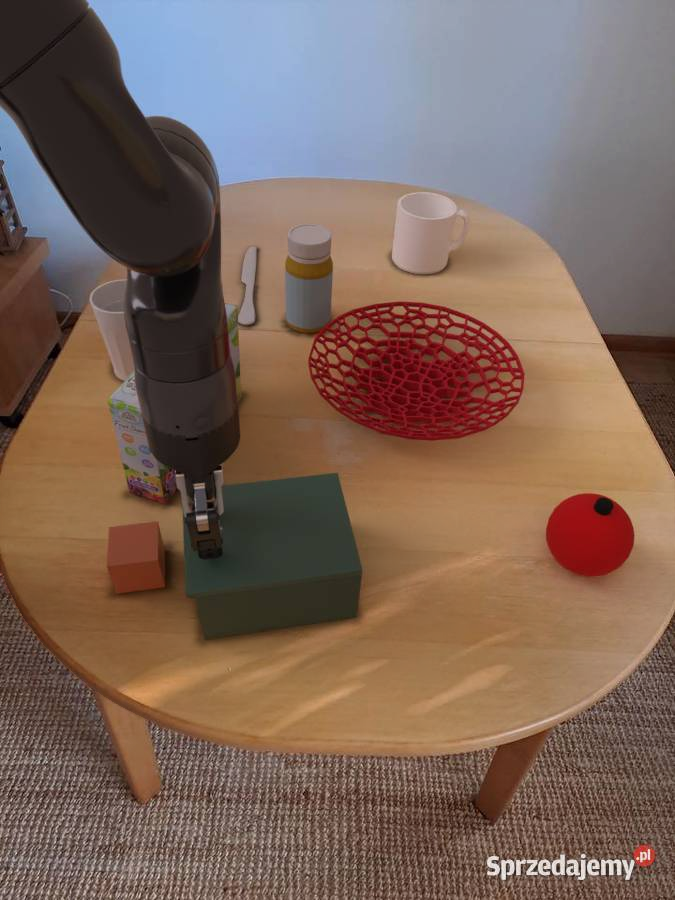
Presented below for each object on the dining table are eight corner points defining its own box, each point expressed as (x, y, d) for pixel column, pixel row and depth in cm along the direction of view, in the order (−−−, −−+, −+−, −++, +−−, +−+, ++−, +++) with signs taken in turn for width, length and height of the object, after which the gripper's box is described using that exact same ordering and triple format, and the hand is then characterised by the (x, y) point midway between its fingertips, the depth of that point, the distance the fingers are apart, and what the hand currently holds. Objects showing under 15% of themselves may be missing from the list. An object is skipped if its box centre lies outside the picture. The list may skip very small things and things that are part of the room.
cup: (172, 353, 98) (160, 281, 90) (156, 388, 93) (142, 315, 84) (118, 348, 99) (101, 276, 90) (100, 383, 93) (80, 310, 85)
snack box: (170, 507, 78) (150, 412, 68) (127, 494, 79) (101, 398, 69) (245, 396, 93) (238, 303, 82) (208, 386, 94) (197, 293, 83)
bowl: (347, 311, 108) (349, 284, 104) (530, 355, 102) (538, 328, 98) (274, 429, 88) (273, 400, 85) (495, 492, 82) (504, 464, 79)
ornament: (558, 514, 80) (584, 457, 73) (630, 555, 76) (664, 499, 69) (522, 561, 75) (546, 504, 68) (597, 608, 71) (630, 553, 64)
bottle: (278, 328, 104) (276, 239, 93) (296, 305, 109) (297, 218, 98) (320, 340, 102) (323, 250, 92) (336, 316, 107) (341, 228, 96)
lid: (186, 598, 61) (179, 567, 58) (182, 494, 70) (176, 461, 66) (362, 574, 64) (366, 543, 60) (337, 477, 72) (339, 444, 69)
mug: (389, 271, 117) (395, 215, 110) (393, 243, 124) (400, 189, 117) (461, 279, 116) (472, 224, 109) (461, 251, 123) (472, 197, 116)
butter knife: (235, 323, 103) (254, 323, 104) (245, 245, 120) (261, 245, 120) (235, 325, 104) (254, 325, 104) (245, 247, 120) (261, 247, 121)
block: (116, 593, 70) (106, 566, 66) (118, 554, 73) (108, 526, 70) (165, 587, 71) (158, 559, 67) (164, 549, 74) (158, 521, 71)
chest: (203, 640, 67) (195, 597, 61) (198, 539, 75) (190, 494, 70) (356, 617, 69) (362, 575, 64) (334, 522, 78) (337, 477, 72)
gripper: (141, 347, 57) (168, 480, 69) (138, 471, 47) (170, 601, 59) (230, 340, 58) (241, 472, 70) (245, 460, 48) (255, 589, 60)
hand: (209, 530), depth 65 cm, fingers closed on lid, 5 cm apart
